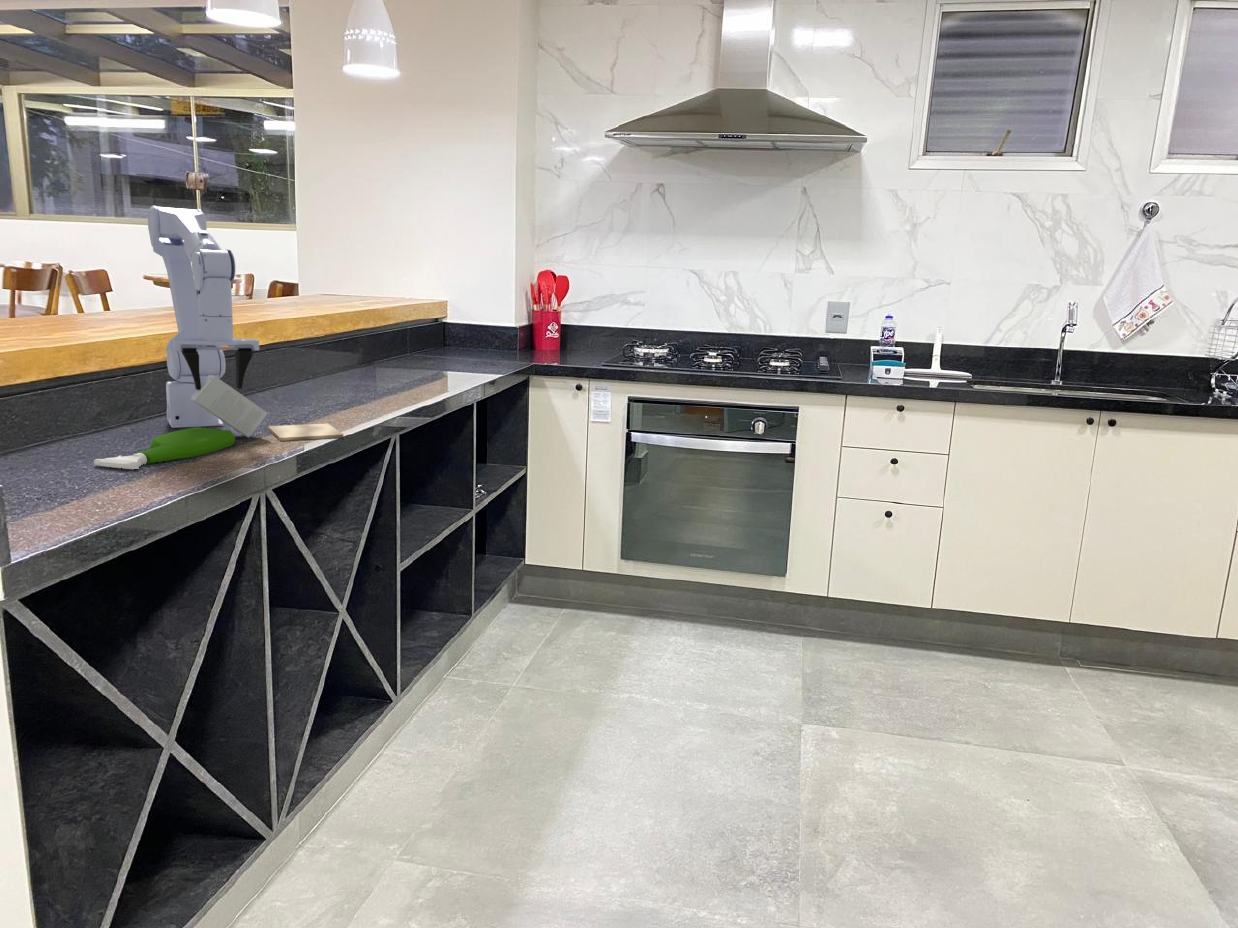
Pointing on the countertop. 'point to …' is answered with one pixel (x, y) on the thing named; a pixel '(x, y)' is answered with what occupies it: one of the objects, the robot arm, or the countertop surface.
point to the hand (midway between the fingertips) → (218, 388)
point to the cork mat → (304, 432)
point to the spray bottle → (174, 447)
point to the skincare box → (229, 405)
